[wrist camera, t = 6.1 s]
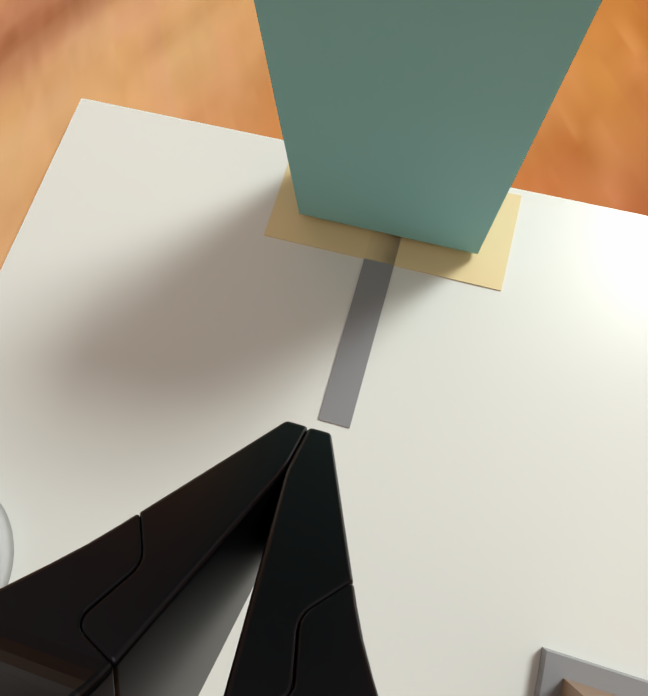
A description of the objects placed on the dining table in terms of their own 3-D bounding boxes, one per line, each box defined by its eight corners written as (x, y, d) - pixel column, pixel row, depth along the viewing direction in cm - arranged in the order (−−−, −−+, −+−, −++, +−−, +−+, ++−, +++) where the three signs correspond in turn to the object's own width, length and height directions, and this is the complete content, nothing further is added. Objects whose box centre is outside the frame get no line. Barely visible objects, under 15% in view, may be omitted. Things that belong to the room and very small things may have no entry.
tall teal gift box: (483, 259, 17) (672, -102, 7) (292, 216, 18) (201, -163, 8) (499, 184, 18) (695, -249, 7) (315, 145, 19) (261, -291, 8)
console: (782, 1027, 13) (944, 1229, 9) (-178, 653, 16) (-324, 696, 13) (825, 268, 17) (940, 211, 14) (77, 109, 21) (21, 33, 17)
